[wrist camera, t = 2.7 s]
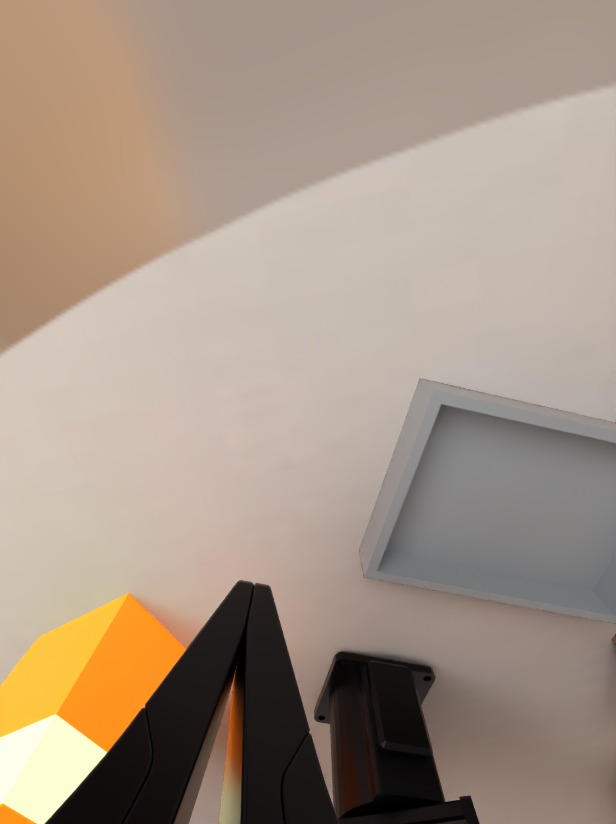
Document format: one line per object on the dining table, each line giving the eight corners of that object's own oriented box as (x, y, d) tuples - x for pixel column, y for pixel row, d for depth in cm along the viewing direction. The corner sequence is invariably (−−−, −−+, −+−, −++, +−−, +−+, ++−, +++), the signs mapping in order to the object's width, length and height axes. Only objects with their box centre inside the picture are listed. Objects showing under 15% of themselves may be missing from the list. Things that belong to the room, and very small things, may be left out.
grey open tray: (590, 592, 19) (620, 624, 18) (358, 548, 19) (363, 577, 17) (695, 440, 16) (746, 460, 14) (418, 377, 15) (433, 389, 13)
